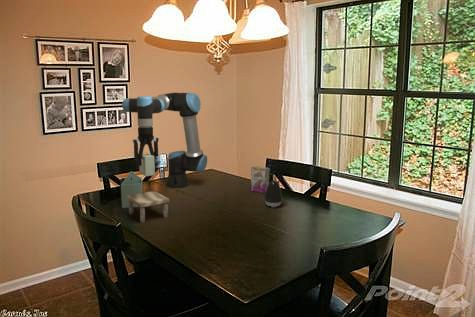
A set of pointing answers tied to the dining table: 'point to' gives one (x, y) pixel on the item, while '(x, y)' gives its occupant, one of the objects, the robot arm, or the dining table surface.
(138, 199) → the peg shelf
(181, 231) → the dining table surface
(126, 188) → the teal gabled house
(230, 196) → the dining table surface
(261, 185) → the candy bar box
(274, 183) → the dark grey cone
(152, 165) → the sage block
